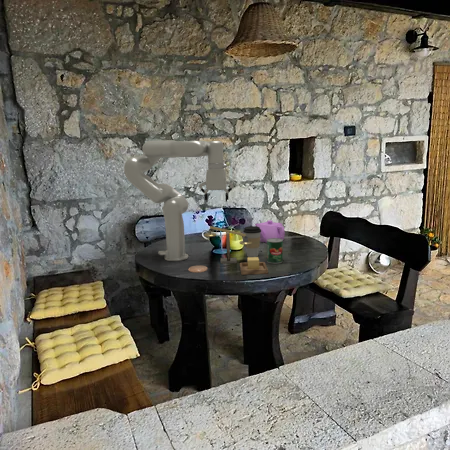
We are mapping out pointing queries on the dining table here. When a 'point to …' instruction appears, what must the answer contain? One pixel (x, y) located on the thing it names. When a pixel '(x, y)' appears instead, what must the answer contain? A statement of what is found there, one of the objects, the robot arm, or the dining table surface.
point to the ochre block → (253, 263)
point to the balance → (228, 243)
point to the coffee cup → (252, 240)
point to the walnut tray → (261, 270)
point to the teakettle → (270, 230)
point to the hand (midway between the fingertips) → (216, 201)
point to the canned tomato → (274, 250)
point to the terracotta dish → (197, 269)
